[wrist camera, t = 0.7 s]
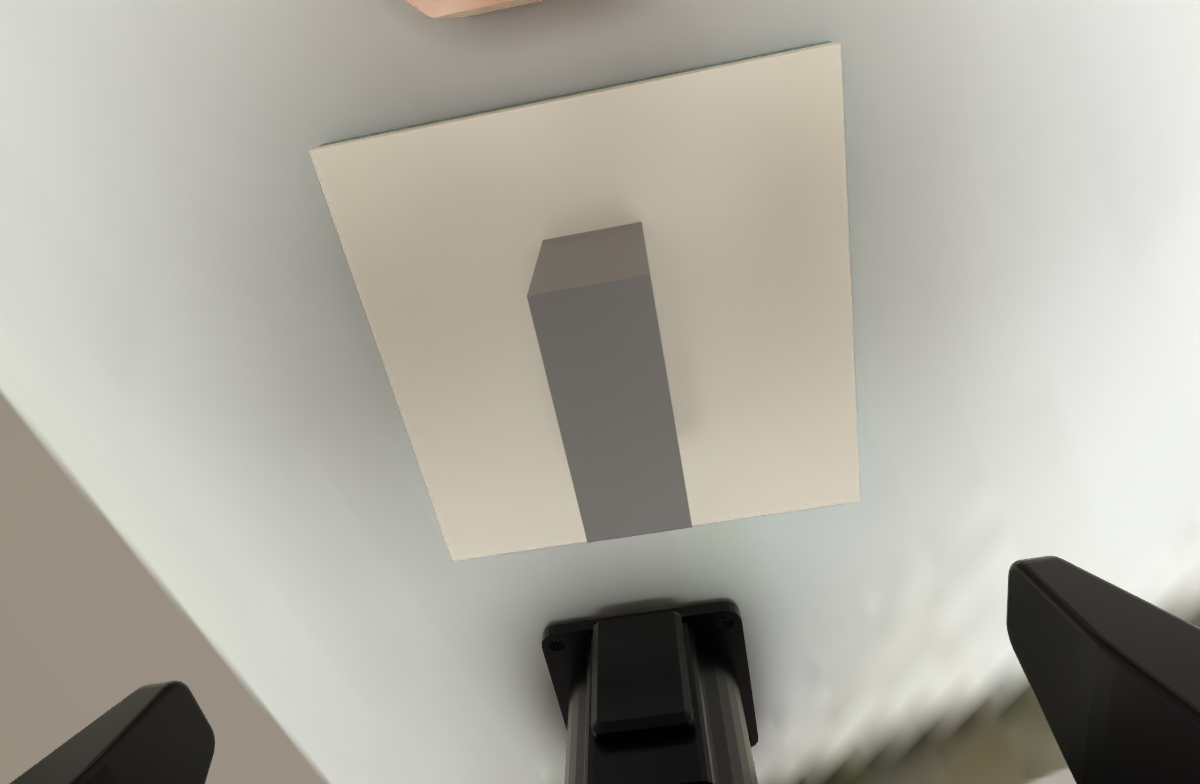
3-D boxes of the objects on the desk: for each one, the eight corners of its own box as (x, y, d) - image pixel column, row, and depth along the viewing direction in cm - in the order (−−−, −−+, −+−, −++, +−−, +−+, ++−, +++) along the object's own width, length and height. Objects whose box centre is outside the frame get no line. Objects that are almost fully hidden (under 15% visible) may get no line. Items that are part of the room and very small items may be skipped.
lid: (854, 489, 22) (911, 599, 18) (455, 548, 23) (423, 664, 19) (833, 41, 17) (906, 52, 13) (317, 146, 18) (230, 187, 14)
